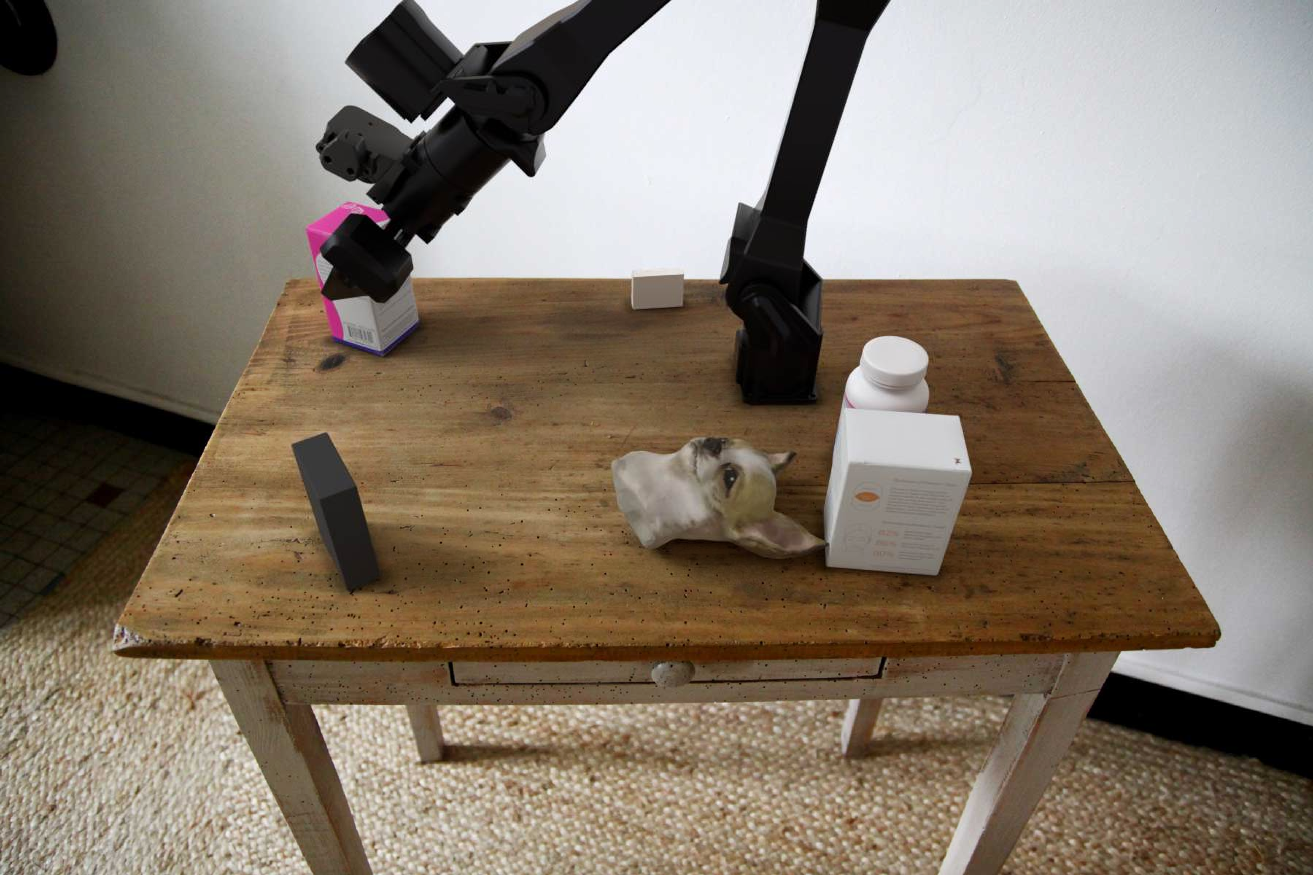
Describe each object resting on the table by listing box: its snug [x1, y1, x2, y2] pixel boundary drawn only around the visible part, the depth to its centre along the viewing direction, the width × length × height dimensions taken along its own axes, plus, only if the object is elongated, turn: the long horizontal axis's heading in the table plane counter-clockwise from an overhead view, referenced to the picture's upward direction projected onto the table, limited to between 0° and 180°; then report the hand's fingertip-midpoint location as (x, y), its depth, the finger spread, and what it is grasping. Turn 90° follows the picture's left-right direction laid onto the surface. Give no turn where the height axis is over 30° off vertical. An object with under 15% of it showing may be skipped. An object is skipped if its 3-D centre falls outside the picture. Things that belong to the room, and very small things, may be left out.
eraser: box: [631, 266, 685, 310], centre depth 89 cm, size 1×5×4 cm, turn 98°
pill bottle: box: [832, 335, 930, 460], centre depth 70 cm, size 6×6×11 cm
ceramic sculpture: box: [610, 436, 829, 560], centre depth 66 cm, size 11×9×15 cm
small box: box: [823, 408, 973, 576], centre depth 64 cm, size 8×6×10 cm
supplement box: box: [305, 201, 420, 357], centre depth 81 cm, size 6×6×12 cm
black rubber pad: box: [290, 431, 382, 592], centre depth 62 cm, size 2×6×9 cm, turn 32°
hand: (348, 267), depth 81 cm, fingers open, 9 cm apart
